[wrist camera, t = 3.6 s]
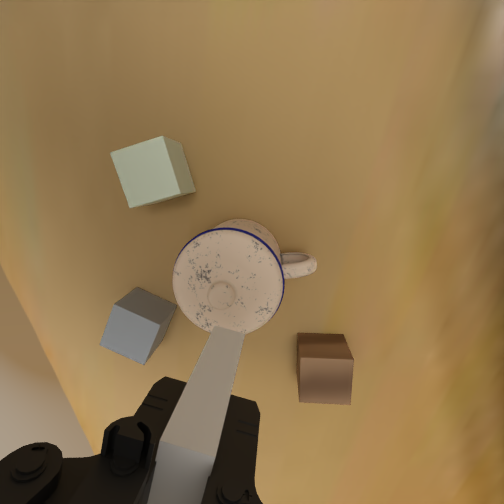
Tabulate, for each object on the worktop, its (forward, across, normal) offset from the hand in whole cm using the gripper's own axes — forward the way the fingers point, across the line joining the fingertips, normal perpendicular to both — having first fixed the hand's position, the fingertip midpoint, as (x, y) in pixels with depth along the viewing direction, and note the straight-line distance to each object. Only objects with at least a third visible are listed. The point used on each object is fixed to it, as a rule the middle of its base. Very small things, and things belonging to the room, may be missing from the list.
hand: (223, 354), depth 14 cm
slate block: (+19, -10, -10) cm, 23 cm away
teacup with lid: (+19, 0, 0) cm, 19 cm away
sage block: (+18, -11, +6) cm, 22 cm away
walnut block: (+19, +10, -9) cm, 23 cm away
